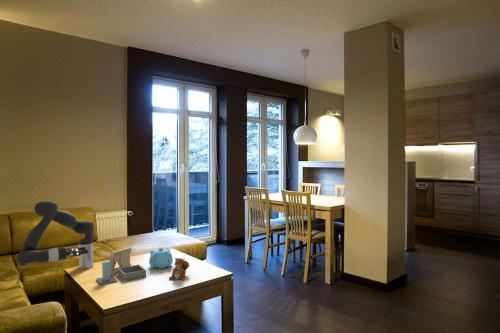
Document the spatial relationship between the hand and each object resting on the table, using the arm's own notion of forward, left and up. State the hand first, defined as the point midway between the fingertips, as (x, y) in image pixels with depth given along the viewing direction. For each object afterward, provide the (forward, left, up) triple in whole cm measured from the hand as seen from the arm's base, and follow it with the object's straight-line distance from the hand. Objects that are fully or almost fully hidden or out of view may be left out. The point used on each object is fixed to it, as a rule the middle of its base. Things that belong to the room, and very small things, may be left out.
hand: (86, 249), depth 216 cm
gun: (-18, +24, -22) cm, 37 cm away
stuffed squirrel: (+22, +52, -22) cm, 60 cm away
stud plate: (0, +11, -22) cm, 24 cm away
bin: (0, +27, -22) cm, 35 cm away
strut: (0, +11, -21) cm, 24 cm away
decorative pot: (-8, +50, -22) cm, 55 cm away
